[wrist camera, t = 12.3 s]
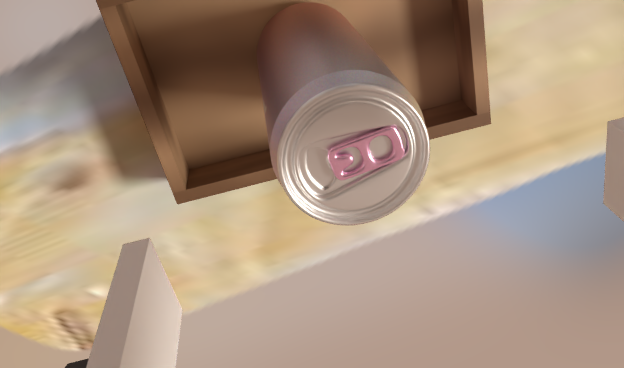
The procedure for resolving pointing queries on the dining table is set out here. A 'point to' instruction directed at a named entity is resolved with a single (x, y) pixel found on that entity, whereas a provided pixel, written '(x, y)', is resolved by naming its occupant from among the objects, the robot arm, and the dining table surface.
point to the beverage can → (337, 118)
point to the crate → (246, 83)
